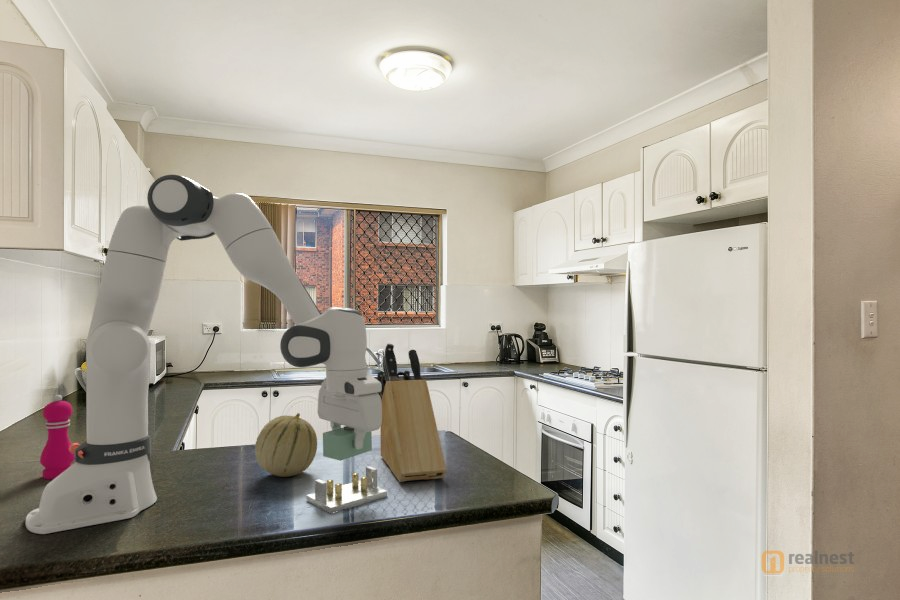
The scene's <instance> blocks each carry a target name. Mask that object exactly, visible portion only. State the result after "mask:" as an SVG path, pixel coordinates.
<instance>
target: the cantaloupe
mask: <svg viewBox="0 0 900 600" xmlns="http://www.w3.org/2000/svg"><path fill="white" fill-rule="evenodd" d="M300 415H301V414H300V412H297V414H296V415H280V416H276V417H274V418H273V419H270V421H268V422H267V423H266V424H265V425H264V426H263V427H262V429H261V430H260V432H259V434H258V436H257V437H256V441H255V446H254V447H255V448H254V453H255V458H256V462H257V463H258V465H259V466H260V467H261V468H262V470H264V471H265V472H267V473H269V474H272V475H274V476H276V477H281V478H287V477H293V476H296V475H299V474H301V473H303V472H305V471H306V470H307V469H308V468H309V467H310V466H311V465H312V463H313V461H314V459H315V457H316V454H317V450H318V438H317V437H318V436H317V434H316V430H315V429H314V427H313V426H312V424H311V423H310V422H308V421H307V420H305V419H303V418H301V417H300Z"/></svg>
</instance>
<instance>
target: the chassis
mask: <svg viewBox="0 0 900 600" xmlns="http://www.w3.org/2000/svg"><path fill="white" fill-rule="evenodd" d="M386 497H388V490H387V489H384V488H381V487H379V486H378V469H377V468H375V467H374V466H370V465H368V466H366V467H365V476H361V477H360V480H359V473H358V472H354V473H352V474H351V482H349V483H346V484H343V483H339V482H338V483H336V484H334V479H327V480H326V481H325V480H322V479H315V480H314V492H312V493H309V494H306V498H305V499H306V500H307V501H306V502H309V503H310V504H312V505H313V504H314V505H313V506H316V507H317V508H319V507H320V508H319V509H320V510H323V511H325V512H326V511H327V513H328V512H329V514H330V513H332V514H334V513H333V512H335V513H337V512H336V511H338V512H341V511H340V510H342V511H344V510H343V509H345V510H347V508H348V509H351V508H353V507H354V508H355V507H357V506H361V505H364V504H367V503H370V502H373V501H377V500H381V499H383V498H386Z"/></svg>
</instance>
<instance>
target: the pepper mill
mask: <svg viewBox="0 0 900 600" xmlns="http://www.w3.org/2000/svg"><path fill="white" fill-rule="evenodd" d="M72 414H73V406H72V404H71V403H69V402H68V401H66V400H63V396H62V395H61V394H56V395H54V396H53V401H51V402H49V403H47V404H45V406H44V408H43V410H42V416H43V418H44V419H45V420H46V422H45V429H47V432H48V433H47V434H48V435H47V440H46V442H45V445H44V447H43V449H42V451H41V454H40V456H39V458H40V459H39V462H40V464H41V465H42V466H43V467H44V469H43V470H42V478H43V479H45V480H53V479H55V478H56V477H57V476H59V475H60V474H61V473H62V472H64V471H65V470H66V469H67V468H69V467H70V466H71V465H72V464H73V462H75V455H74V454H72V453H71V452H70V451H69V448H70V447H69V446H72V445H71V444H72V442H71V441H70V438H69V431H68V430H69V426H71V419H69V418H70V417H71V416H72Z"/></svg>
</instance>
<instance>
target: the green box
mask: <svg viewBox="0 0 900 600" xmlns="http://www.w3.org/2000/svg"><path fill="white" fill-rule="evenodd" d="M355 436H356V433H354V428H351V427H348V426H342V427H341V428H339V429H336V430H332V429H331V430H328V431H325V432H322V455H323V457H324V458H329V459H332V460H335V461H336V460H337V461H341V462H342V461H344V460H347V459H350V458H352V457H356V456H359V455H362V454H365V453H368V452H371V451H372V450H373V449H372V448H373V447H372V446H373V441H372V440H373V439H372V436H373V435H372V431H370V432H366V434H365V437H364V439H363V448H361V449H355V448H353V447H352V445H353V444H352V440H354V439H355Z"/></svg>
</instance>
